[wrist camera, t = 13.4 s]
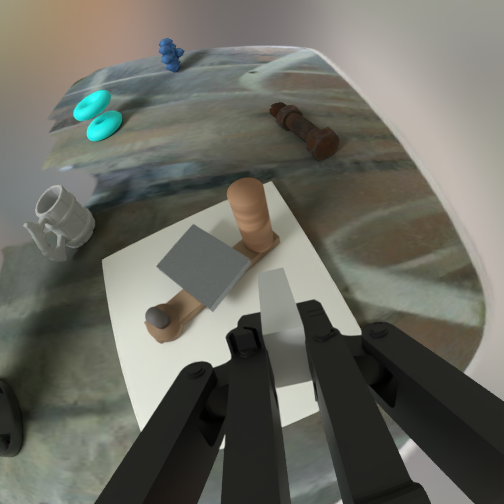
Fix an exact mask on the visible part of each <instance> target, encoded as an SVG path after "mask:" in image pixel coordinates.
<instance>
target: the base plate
mask: <svg viewBox="0 0 504 504" xmlns="http://www.w3.org/2000/svg"><path fill="white" fill-rule="evenodd" d="M263 186H264V191H265V196H266V201H267V206H268V211H269V216H270V221H271V226H272V231H274V232H275V233H276V234H277V235H278V236H279V237H280V243H279V244H278V245H277V246H276V247H275V248H274V249H273V250H271V251H270V252H269V253H268V254H267V255H266V256H264V257H263V258H262V259H261V260H260V261H259V262H258V263H256V264H255V265H254V266H253V267H252V268H251V269H249V270H248V271H247V272H246V273H245V274H244V275H242V277H241V278H240V279H239V280H238V282H237V283H236V284H235V285H234V287H233V288H232V289H231V290H230V292H229V293H228V294H227V295H226V297H225V298H224V299H223V300H222V302H221V303H220V304H219V305H218V307H217V308H216V309H215V310H214V312H212V311H211V310H209V309H208V308H207V307H205V308H204V309H203V310H202V311H200V312H199V313H198V314H197V315H196V316H195V317H193V318H192V319H191V320H190V321H189V322H187V323H186V324H185V325H184V329H183V331H182V333H181V335H180V336H179V337H178V338H177V339H176V340H174V341H171V342H164V343H163V344H161V343H159V342H157V341H156V340H155V339H154V337H152V336H151V335H150V334H149V332H148V330H147V328H146V325H145V323H144V322H145V321H146V319H145V314H146V311H147V310H148V309H149V308H150V307H155V306H156V305H159V304H163V303H167V302H168V301H169V300H170V299H172V298H173V297H174V296H175V295H176V294H178V293H179V292H180V291H181V290H182V288H181V287H180V286H179V285H177V284H176V283H175V282H174V281H172V280H171V279H170V278H169V277H167V276H166V275H165V274H164V273H162V272H161V271H160V270H159V269H158V268H157V267H156V266H157V265H158V263H159V262H160V261H161V260H162V259H163V258H164V256H165V255H166V254H167V253H168V252H169V251H170V250H171V248H172V247H173V246H174V245H175V244H176V243H177V241H178V240H179V239H180V238H181V237H182V236H183V235H184V234H185V232H186V231H187V230H188V229H189V228H190V227H191V226H192V225H193V224H194V225H196V226H198V227H199V228H201V229H202V230H204V231H206V232H207V233H209V234H210V235H212V236H214V237H215V238H217V239H219V240H220V241H222V242H223V243H225V244H227V245H228V246H230V247H231V248H232V247H233V246H235V245H236V244H237V243H238V242H239V241H241V240H242V236H241V233H240V231H239V228H238V225H237V222H236V220H235V217H234V214H233V212H232V209H231V206H230V203H229V201H228V200H226V201H223V202H221V203H219V204H217V205H214V206H212V207H210V208H208V209H205V210H203V211H201V212H199V213H197V214H194V215H192V216H190V217H188V218H186V219H184V220H181V221H179V222H177V223H175V224H173V225H171V226H169V227H167V228H164V229H162V230H160V231H158V232H156V233H154V234H152V235H150V236H148V237H146V238H144V239H142V240H140V241H138V242H136V243H134V244H132V245H130V246H128V247H126V248H124V249H122V250H120V251H118V252H116V253H114V254H112V255H110V256H108V257H106V258H104V259H102V265H103V273H104V281H105V287H106V294H107V300H108V306H109V312H110V317H111V322H112V327H113V332H114V337H115V342H116V346H117V350H118V355H119V359H120V363H121V367H122V371H123V375H124V378H125V382H126V386H127V389H128V393H129V396H130V399H131V403H132V406H133V409H134V412H135V415H136V418H137V421H138V424H139V427H140V430H141V431H142V430H143V428H144V427H145V425H146V424H147V422H148V421H149V419H150V418H151V416H152V414H153V413H154V411H155V410H156V408H157V407H158V405H159V404H160V402H161V401H162V399H163V397H164V396H165V394H166V393H167V391H168V390H169V388H170V387H171V385H172V384H173V382H174V380H175V379H176V377H177V376H178V374H179V373H180V371H181V370H182V369H183V368H184V367H185V366H187V365H189V364H191V363H193V362H199V361H205V362H208V363H210V364H211V365H212V367H213V368H214V367H216V366H219V365H222V364H224V363H226V362H228V361H229V360H230V359H231V353H230V350H229V347H228V344H227V341H226V338H225V337H226V335H227V333H228V332H230V331H231V330H232V329H234V328H236V327H237V323H238V320H239V319H240V318H241V316H242V315H247V314H252V313H257V312H260V300H259V288H258V276H257V273H260V272H265V271H269V270H274V269H278V268H284V271H285V274H286V277H287V279H288V282H289V285H290V288H291V291H292V294H293V297H294V300H295V303H299V302H304V301H308V300H312V299H315V300H317V301H318V302H320V303H321V304H322V306H323V308H324V310H325V312H326V314H327V316H328V318H329V320H330V322H331V324H332V326H333V327H334V328H337V329H338V330H339V331H340V333H341V334H342V335H348V336H353V335H361V329H360V327H359V325H358V324H357V322H356V320H355V318H354V316H353V315H352V313H351V311H350V309H349V307H348V306H347V304H346V302H345V300H344V299H343V297H342V295H341V293H340V292H339V290H338V288H337V286H336V285H335V283H334V281H333V279H332V278H331V276H330V274H329V273H328V271H327V269H326V268H325V266H324V264H323V263H322V261H321V259H320V258H319V256H318V254H317V253H316V251H315V249H314V248H313V246H312V244H311V243H310V241H309V239H308V238H307V236H306V235H305V233H304V231H303V230H302V228H301V226H300V225H299V223H298V222H297V220H296V218H295V217H294V215H293V214H292V212H291V211H290V209H289V207H288V206H287V204H286V203H285V201H284V200H283V198H282V196H281V195H280V193H279V192H278V190H277V189H276V187H275V186H274V184H273V183H272V181H270V182H268V183H266V184H263ZM275 387H276V386H275ZM276 392H277V396H278V402H279V410H280V418H281V426H282V427H284V426H286V425H288V424H291V423H293V422H295V421H298V420H300V419H302V418H305V417H307V416H309V415H311V414H313V413H315V412H318V411H319V407H318V403H317V401H316V402H315V395H314V388H313V381H309V382H304V383H300V384H295V385H290V386H285V387H280V388H276ZM224 446H225V436H224V439H223V441H222V444H221V446H220V449H222V448H224Z"/></svg>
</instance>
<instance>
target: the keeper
mask: <svg viewBox="0 0 504 504" xmlns="http://www.w3.org/2000/svg"><path fill="white" fill-rule="evenodd" d="M251 264H252V263H251V260H250V259H249V258H248V257H246V256H244V255H243V254H241V253H240V252H238V251H236V250H235V249H233V248H231V247H230V246H228V245H227V244H225V243H223V242H222V241H220V240H219V239H217V238H215V237H214V236H212V235H210V234H209V233H207V232H206V231H204V230H202V229H201V228H199V227H198V226H196V225H194V224H193V225H192V226H191V227H190V228H189V229H188V230H187V231H186V232H185V234H184V235H183V236H182V237H181V238H180V239H179V240H178V241H177V243H176V244H175V245H174V246H173V247H172V248H171V250H170V251H169V252H168V253H167V254H166V255H165V256H164V258H163V259H162V260H161V261H160V262H159V263H158V265H157V266H156V267H157V268H158V269H159V270H160V271H161V272H162V273H164V274H165V275H166V276H167V277H169V278H170V279H171V280H172V281H174V282H175V283H176V284H177V285H179V286H180V287H181V288H182V289H184V290H185V291H186V292H187V293H189V294H190V295H191V296H193V297H194V298H195V299H196V300H198V301H199V302H200V303H202V304H203V305H204V306H206V307H207V308H208V309H209V310H211V311H212V312H214V310H215V309H216V308H217V307H218V305H219V304H220V303H221V302H222V300H223V299H224V298H225V297H226V295H227V294H228V293H229V292H230V290H231V289H232V288H233V287H234V285H235V284H236V283H237V282H238V280H239V279H240V278H241V277H242V275H243V274H244V273H245V272H246V270H247V269H248V268H249V266H250V265H251Z"/></svg>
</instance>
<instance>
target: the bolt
mask: <svg viewBox="0 0 504 504" xmlns="http://www.w3.org/2000/svg"><path fill="white" fill-rule="evenodd" d="M271 107H272V108H270V113H271V115H273V116H274V117H275V118H276V122H277V123H278V124H279V125H280V126H281V127H282V128H284V129H285V130H286V131H289V130H292V131H293V132H294V133H295V134H297V135H298V136H299V137H300V138H302V139H303V140H304V141H305V142H306V143H307V144H308V147H307V150H308V151H309V152H310V153H311V154H312V155H313V157H315V158H316V159H317V160H318V161H320V160H324V159H326V158H328V157H330V156H331V155H332V154H333V153H334V152H335V151H336V150H337V148H338V145H339V138H338V136H337V135H336V134H335V132H334V131H333V130H331V129H330V128H329V127H327V128H325V129H322V130H321V129H319V128H317V127H316V126H315V125H313V124H312V123H311V122H309V121H308V120H307V119H305V118H304V117H302V116H303V114H302V113H301V112H300V110H299V109H298V108H296V107H295V106H294V105H288V106H287V105H285V104H284V103H282V102H279V103H275V104H272V105H271Z"/></svg>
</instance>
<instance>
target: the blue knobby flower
mask: <svg viewBox="0 0 504 504" xmlns="http://www.w3.org/2000/svg"><path fill="white" fill-rule="evenodd" d="M159 46H160V47H161V48H160V50H159V53H161V54H162V55H163V56H162V61H161V62H163V63H165V64H167V65H166V69H167V70H169V71H172V72H176V71H178V69H179V67H180V66H179V64H180V62H181V61H179V57H181V56H182V55H183V53H184V50H183V49H181V48H177V49H176V45H175V44H173V43H172V40H171V39H169V38H165V39H162V40H161V41H160V44H159Z"/></svg>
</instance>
